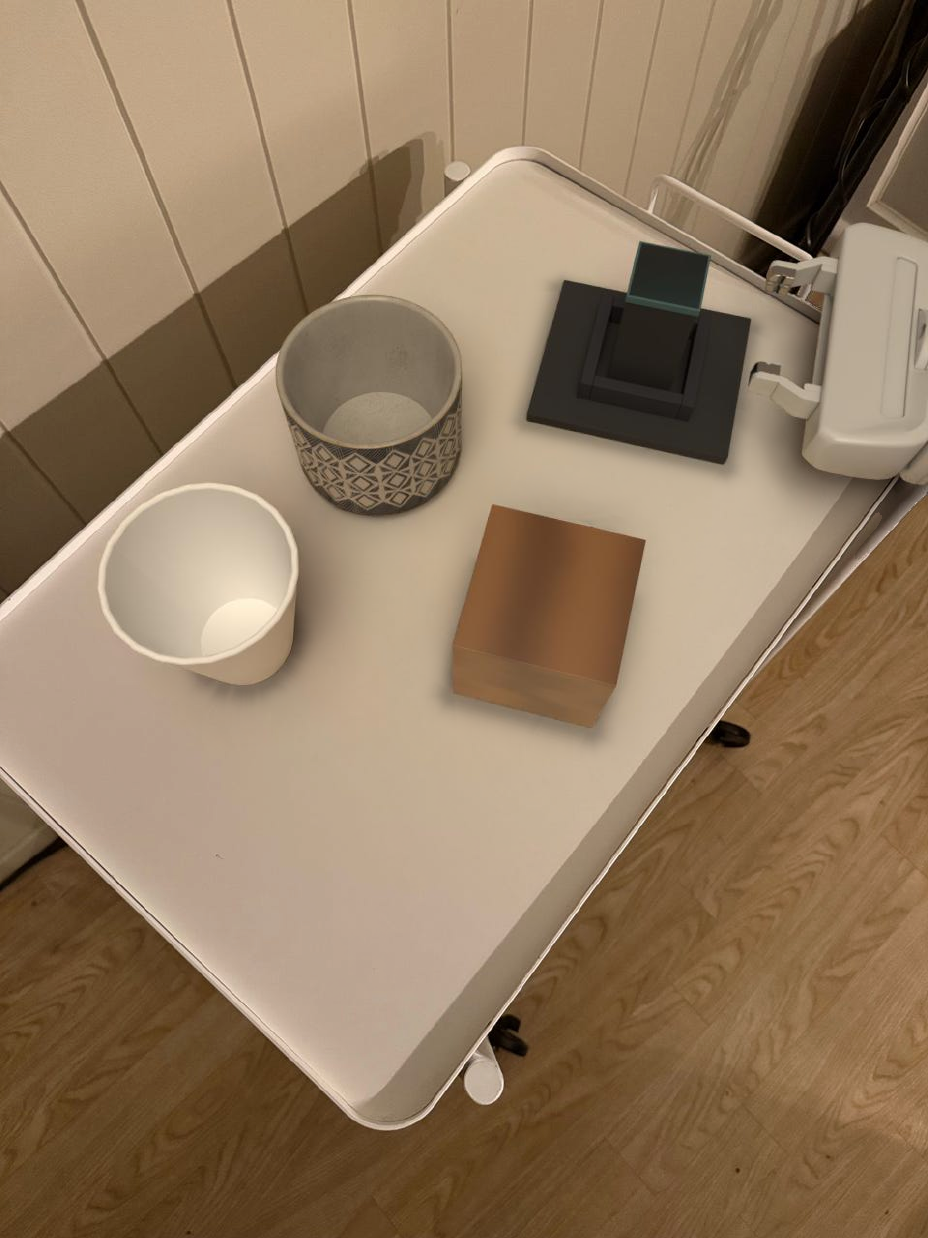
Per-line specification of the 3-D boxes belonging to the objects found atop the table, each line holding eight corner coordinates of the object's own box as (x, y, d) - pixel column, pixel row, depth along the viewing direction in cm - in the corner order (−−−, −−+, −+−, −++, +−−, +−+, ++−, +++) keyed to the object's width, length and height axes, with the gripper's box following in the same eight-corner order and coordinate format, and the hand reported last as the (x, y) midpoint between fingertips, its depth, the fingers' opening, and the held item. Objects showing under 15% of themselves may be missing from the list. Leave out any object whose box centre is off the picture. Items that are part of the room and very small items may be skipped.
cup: (292, 741, 60) (253, 689, 49) (135, 692, 61) (60, 630, 50) (350, 590, 64) (327, 509, 53) (202, 547, 66) (147, 459, 54)
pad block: (678, 346, 71) (711, 254, 62) (667, 398, 70) (700, 311, 60) (615, 333, 72) (639, 240, 62) (603, 384, 70) (626, 296, 61)
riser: (618, 600, 64) (646, 539, 55) (591, 728, 61) (615, 686, 51) (487, 568, 65) (492, 503, 56) (453, 693, 61) (452, 646, 52)
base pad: (748, 326, 73) (759, 301, 71) (723, 465, 68) (735, 444, 66) (562, 287, 75) (566, 261, 72) (525, 420, 70) (528, 398, 67)
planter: (488, 484, 68) (494, 404, 58) (339, 548, 66) (318, 476, 56) (420, 363, 72) (414, 270, 62) (277, 420, 70) (247, 332, 60)
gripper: (982, 222, 63) (792, 185, 64) (969, 458, 56) (754, 411, 57) (938, 285, 69) (764, 250, 70) (920, 505, 62) (727, 462, 63)
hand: (759, 324), depth 64 cm, fingers open, 8 cm apart
